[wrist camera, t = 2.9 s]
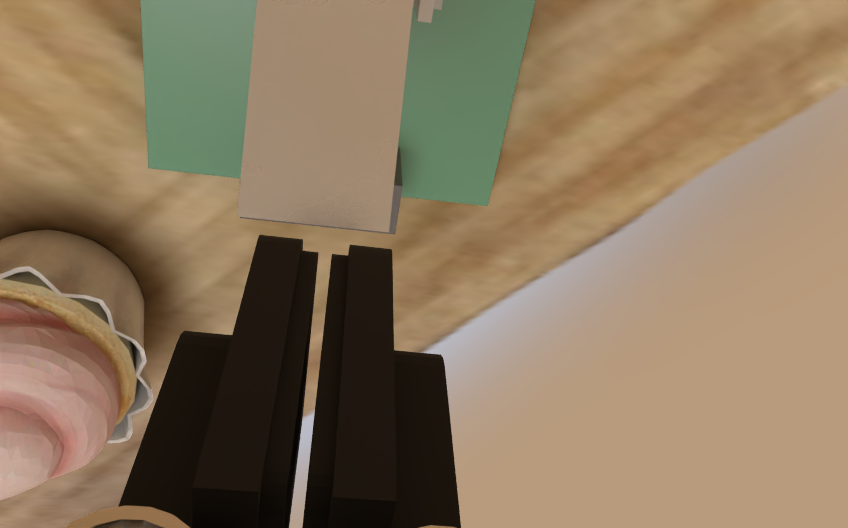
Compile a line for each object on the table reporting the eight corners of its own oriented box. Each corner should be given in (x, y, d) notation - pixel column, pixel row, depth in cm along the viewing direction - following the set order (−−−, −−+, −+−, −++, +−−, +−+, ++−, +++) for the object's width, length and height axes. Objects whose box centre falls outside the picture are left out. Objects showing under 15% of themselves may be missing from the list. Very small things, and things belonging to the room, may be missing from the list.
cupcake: (-112, 216, 28) (-311, 408, 20) (128, 170, 28) (25, 348, 20) (9, 394, 34) (-110, 604, 25) (213, 358, 33) (159, 561, 25)
